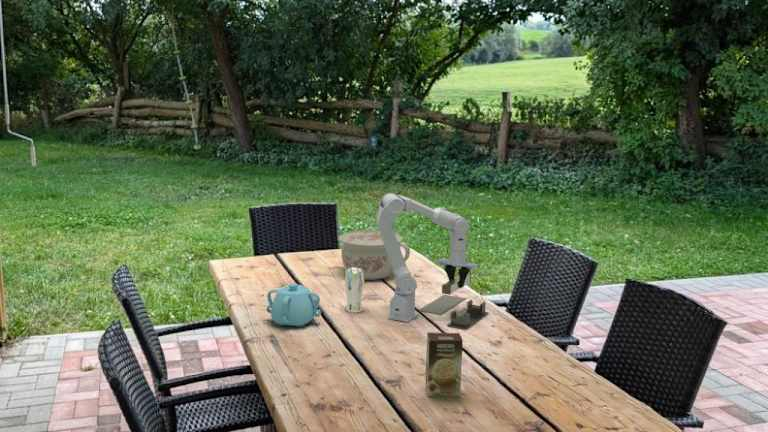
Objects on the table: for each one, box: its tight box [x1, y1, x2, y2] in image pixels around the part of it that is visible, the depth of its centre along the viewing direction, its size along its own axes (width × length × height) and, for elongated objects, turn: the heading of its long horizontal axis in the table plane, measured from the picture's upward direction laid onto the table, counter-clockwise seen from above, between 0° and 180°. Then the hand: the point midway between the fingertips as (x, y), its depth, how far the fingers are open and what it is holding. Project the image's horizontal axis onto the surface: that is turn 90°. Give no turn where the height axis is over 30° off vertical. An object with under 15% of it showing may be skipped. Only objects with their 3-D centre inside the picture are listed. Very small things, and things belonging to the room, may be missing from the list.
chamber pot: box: [337, 227, 411, 281], centre depth 318 cm, size 28×28×21 cm
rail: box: [441, 273, 472, 296], centre depth 271 cm, size 18×3×3 cm, turn 150°
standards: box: [446, 299, 489, 331], centre depth 265 cm, size 20×7×5 cm, turn 150°
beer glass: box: [344, 268, 365, 313], centre depth 274 cm, size 7×7×15 cm
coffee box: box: [424, 332, 464, 398], centre depth 205 cm, size 9×6×16 cm
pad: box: [418, 294, 467, 316], centre depth 282 cm, size 22×9×1 cm, turn 150°
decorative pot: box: [266, 283, 322, 328], centre depth 261 cm, size 16×16×14 cm
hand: (456, 286), depth 271 cm, fingers closed on rail, 3 cm apart
